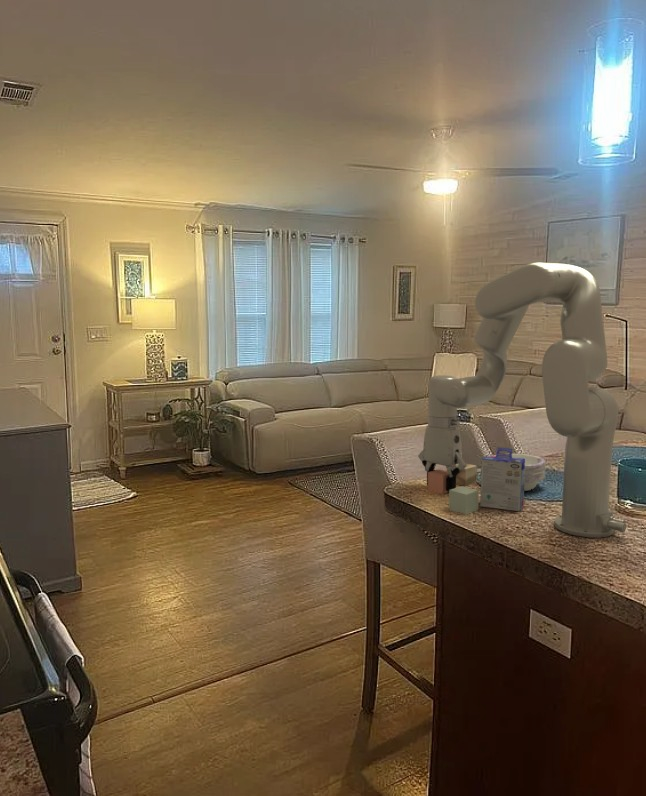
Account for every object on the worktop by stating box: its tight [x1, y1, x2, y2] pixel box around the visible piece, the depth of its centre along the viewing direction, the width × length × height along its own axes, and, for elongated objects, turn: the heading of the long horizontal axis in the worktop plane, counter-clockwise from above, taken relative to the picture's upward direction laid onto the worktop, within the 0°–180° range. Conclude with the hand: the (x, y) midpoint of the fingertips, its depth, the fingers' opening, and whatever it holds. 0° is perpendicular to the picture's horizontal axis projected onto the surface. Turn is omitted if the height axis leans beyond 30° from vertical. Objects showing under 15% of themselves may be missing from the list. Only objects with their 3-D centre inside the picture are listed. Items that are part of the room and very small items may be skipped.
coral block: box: [427, 468, 449, 495], centre depth 170 cm, size 5×5×5 cm
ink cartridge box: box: [479, 447, 525, 512], centre depth 156 cm, size 10×6×14 cm, turn 65°
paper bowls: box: [492, 453, 546, 492], centre depth 172 cm, size 15×15×8 cm
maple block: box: [451, 463, 478, 487], centre depth 177 cm, size 5×5×5 cm
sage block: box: [448, 485, 480, 515], centre depth 154 cm, size 5×5×5 cm
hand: (441, 487), depth 171 cm, fingers open, 5 cm apart
